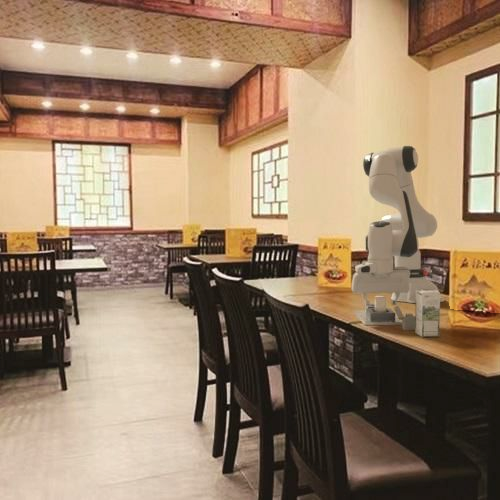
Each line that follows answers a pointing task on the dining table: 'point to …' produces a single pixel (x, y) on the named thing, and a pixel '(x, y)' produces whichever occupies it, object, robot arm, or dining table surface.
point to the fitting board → (377, 316)
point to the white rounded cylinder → (380, 304)
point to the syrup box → (427, 313)
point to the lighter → (406, 319)
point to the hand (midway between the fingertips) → (380, 305)
